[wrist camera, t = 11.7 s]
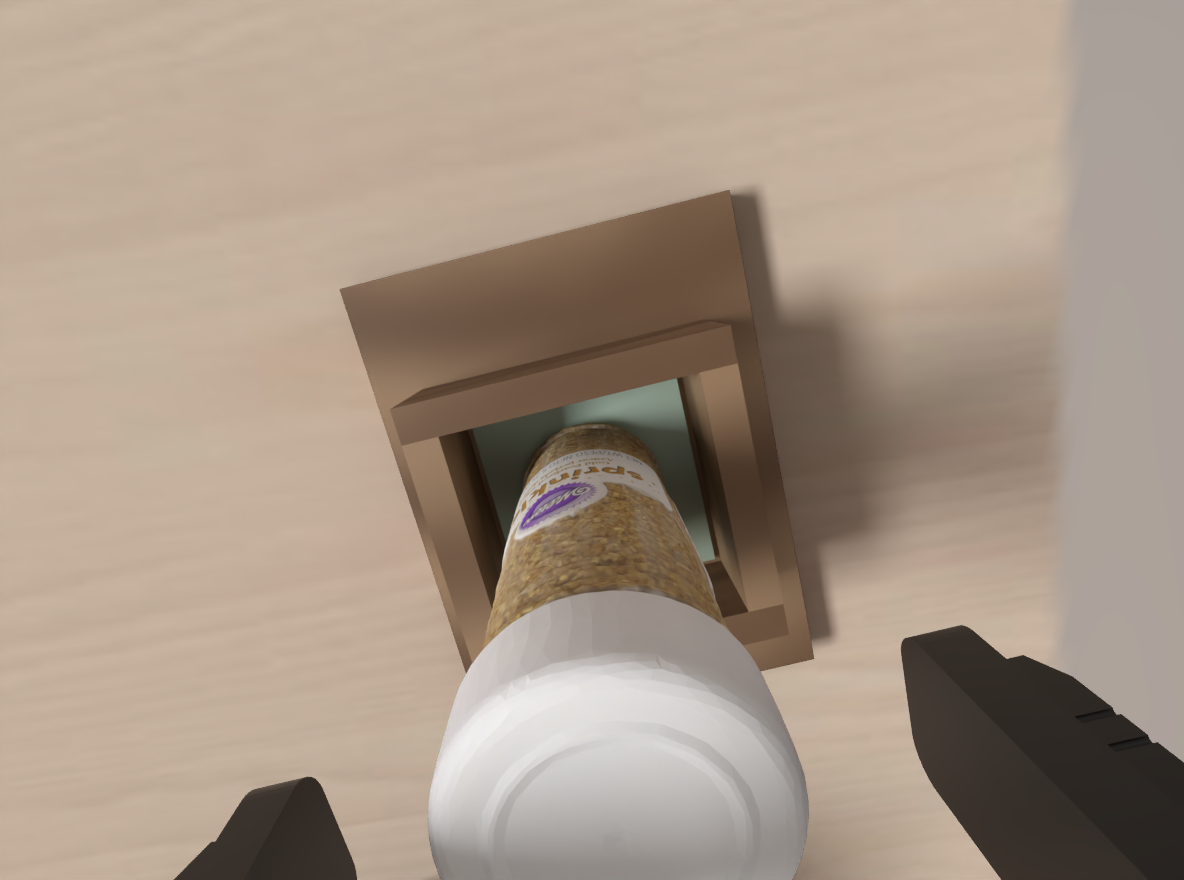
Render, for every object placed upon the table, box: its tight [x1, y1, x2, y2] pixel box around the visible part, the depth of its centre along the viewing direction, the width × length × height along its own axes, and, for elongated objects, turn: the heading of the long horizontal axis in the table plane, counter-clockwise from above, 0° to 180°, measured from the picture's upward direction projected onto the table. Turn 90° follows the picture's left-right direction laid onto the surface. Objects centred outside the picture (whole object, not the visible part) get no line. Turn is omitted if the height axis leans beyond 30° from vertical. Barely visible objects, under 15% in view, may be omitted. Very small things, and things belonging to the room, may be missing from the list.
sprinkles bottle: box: [428, 423, 809, 880], centre depth 14 cm, size 5×5×14 cm
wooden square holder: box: [340, 190, 814, 674], centre depth 19 cm, size 16×12×4 cm
